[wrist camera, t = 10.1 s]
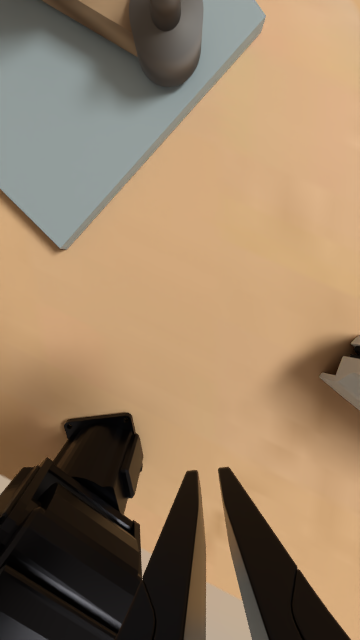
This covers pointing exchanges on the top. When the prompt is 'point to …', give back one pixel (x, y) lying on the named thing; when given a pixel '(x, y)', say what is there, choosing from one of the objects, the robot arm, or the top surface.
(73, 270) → the top surface
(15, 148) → the board
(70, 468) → the robot arm
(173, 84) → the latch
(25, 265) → the top surface
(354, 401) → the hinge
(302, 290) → the top surface
